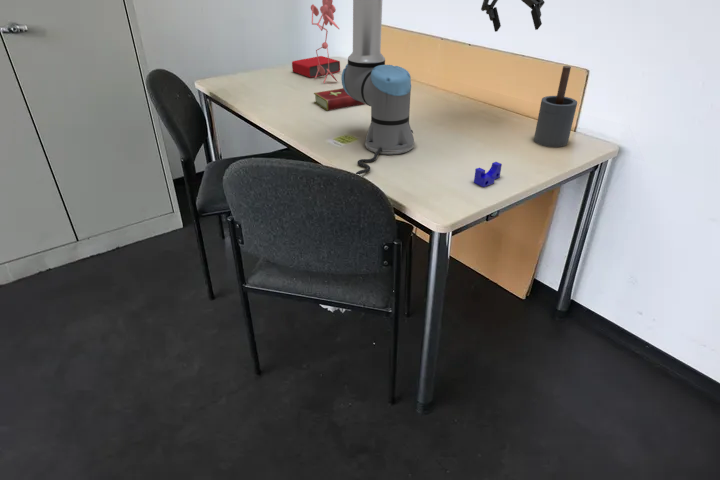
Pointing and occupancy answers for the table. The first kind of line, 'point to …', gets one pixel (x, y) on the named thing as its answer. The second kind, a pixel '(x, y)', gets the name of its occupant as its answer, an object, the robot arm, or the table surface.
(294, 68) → the audio interface
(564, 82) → the brush
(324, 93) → the hardcover book
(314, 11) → the figurine
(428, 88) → the table surface
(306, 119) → the table surface
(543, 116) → the grey cylindrical holder
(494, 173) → the cable holder
